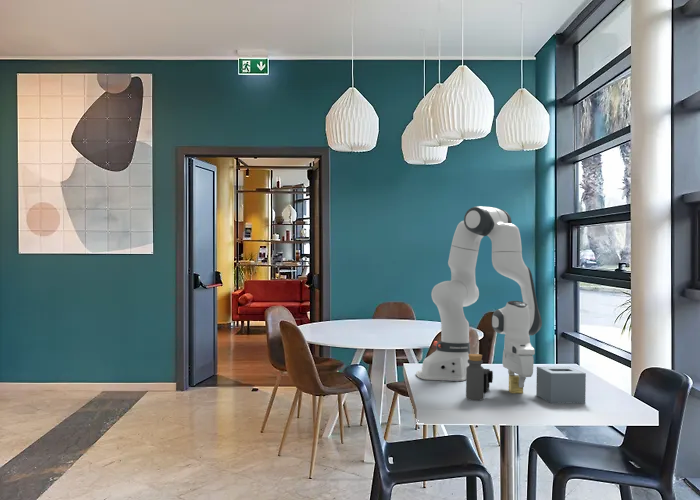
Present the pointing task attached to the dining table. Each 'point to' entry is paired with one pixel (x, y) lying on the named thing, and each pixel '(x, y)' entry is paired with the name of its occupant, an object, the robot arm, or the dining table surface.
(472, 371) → the bottle
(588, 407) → the dining table surface
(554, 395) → the box
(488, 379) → the digital camera
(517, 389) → the block
